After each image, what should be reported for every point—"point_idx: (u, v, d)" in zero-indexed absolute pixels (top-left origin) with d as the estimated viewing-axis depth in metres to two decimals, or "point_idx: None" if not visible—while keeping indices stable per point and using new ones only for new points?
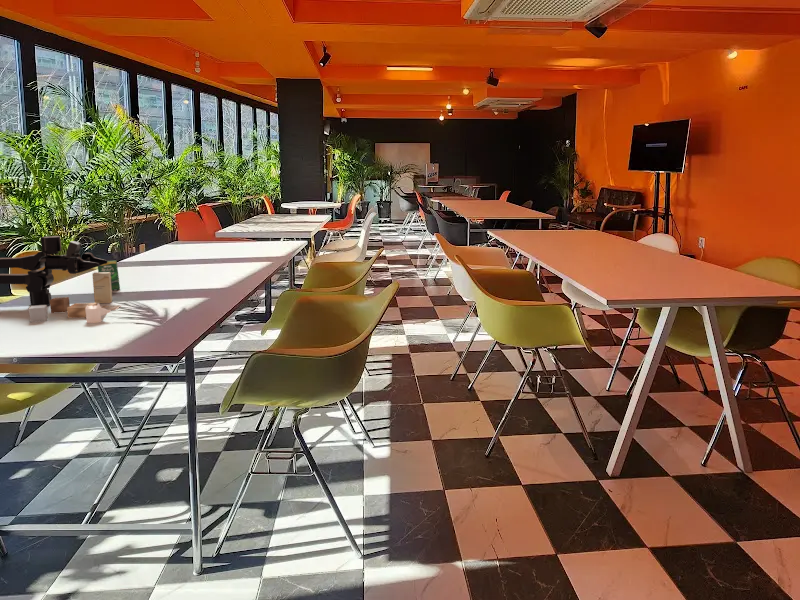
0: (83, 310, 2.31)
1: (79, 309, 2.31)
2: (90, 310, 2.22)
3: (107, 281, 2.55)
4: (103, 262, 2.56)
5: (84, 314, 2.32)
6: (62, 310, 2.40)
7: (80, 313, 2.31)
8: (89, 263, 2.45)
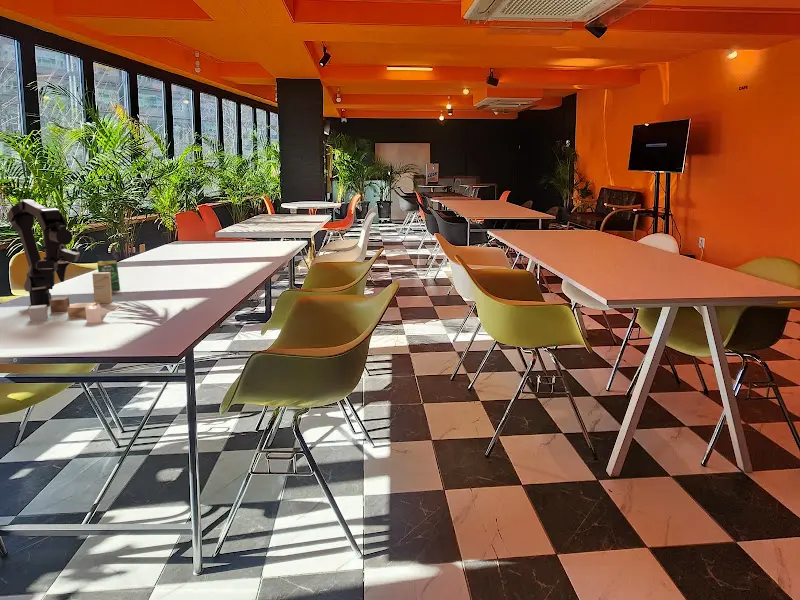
0: (84, 310, 2.31)
1: (80, 309, 2.31)
2: (90, 310, 2.22)
3: (107, 281, 2.55)
4: (60, 278, 2.44)
5: (85, 314, 2.32)
6: (62, 310, 2.40)
7: (81, 313, 2.31)
8: (51, 278, 2.34)
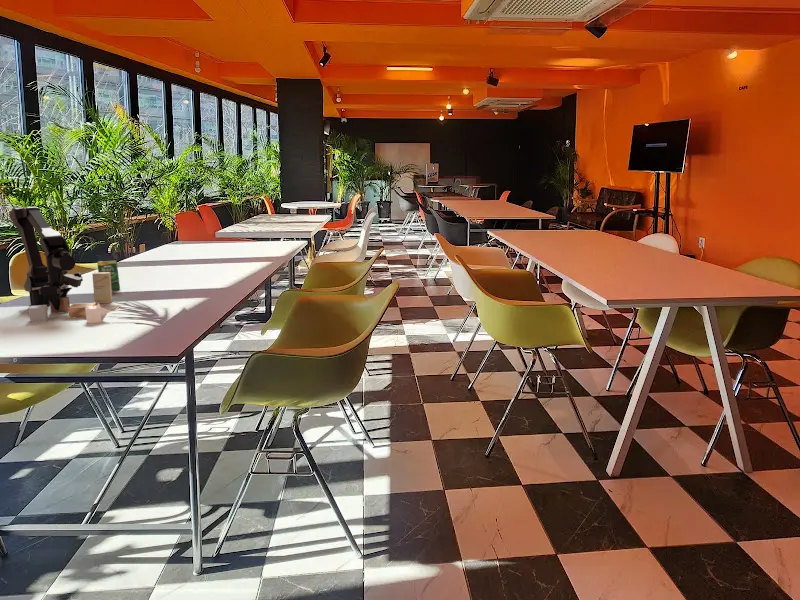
0: (85, 310, 2.32)
1: (81, 309, 2.31)
2: (90, 310, 2.22)
3: (107, 281, 2.55)
4: None
5: None
6: (62, 310, 2.40)
7: (82, 313, 2.31)
8: (57, 302, 2.38)
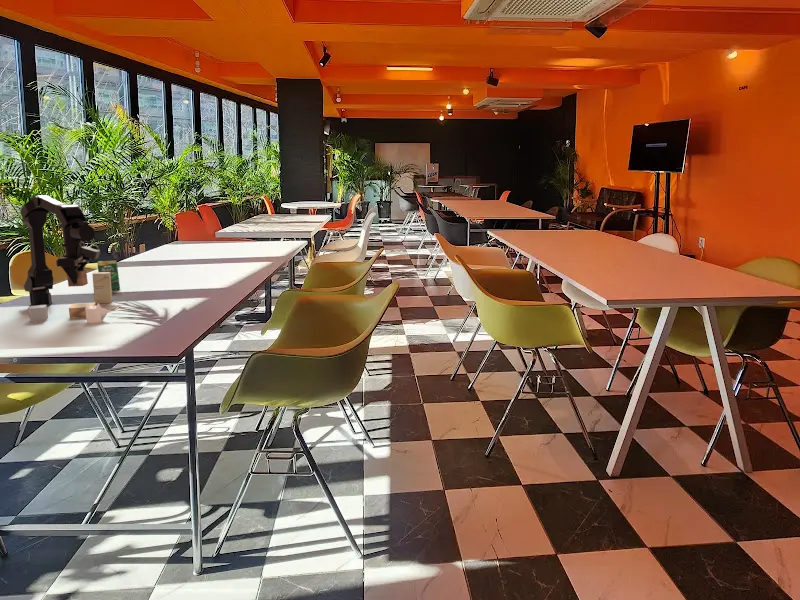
0: None
1: (81, 309, 2.31)
2: (90, 310, 2.22)
3: (107, 281, 2.55)
4: None
5: None
6: (80, 283, 2.31)
7: (82, 313, 2.32)
8: (74, 275, 2.29)
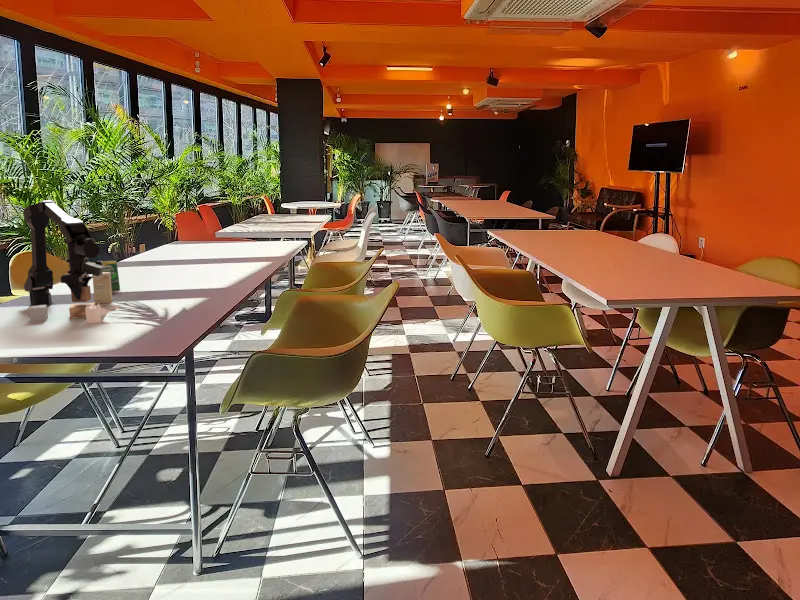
0: None
1: (82, 309, 2.31)
2: (90, 310, 2.22)
3: (107, 281, 2.55)
4: None
5: None
6: (83, 299, 2.32)
7: (83, 313, 2.32)
8: (78, 291, 2.30)
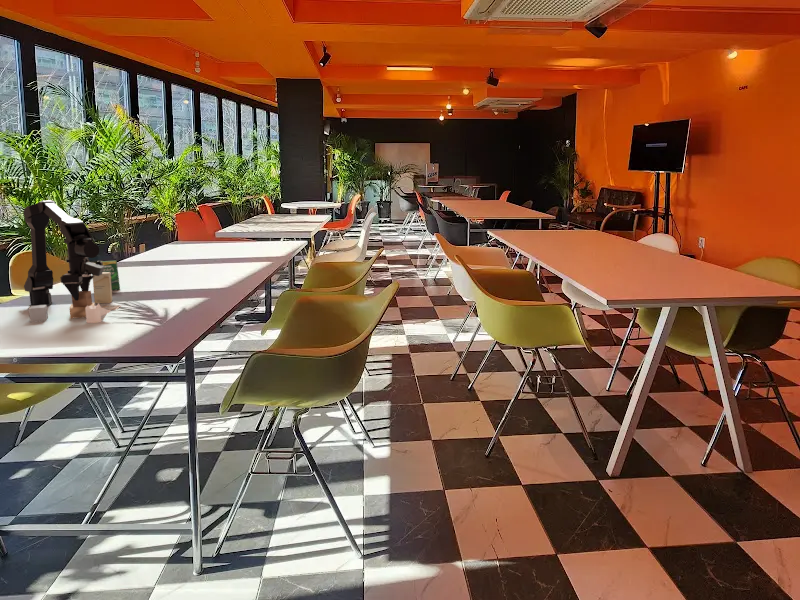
0: None
1: (82, 309, 2.31)
2: (90, 310, 2.22)
3: (107, 281, 2.55)
4: None
5: None
6: (84, 304, 2.32)
7: (83, 313, 2.32)
8: (76, 292, 2.28)
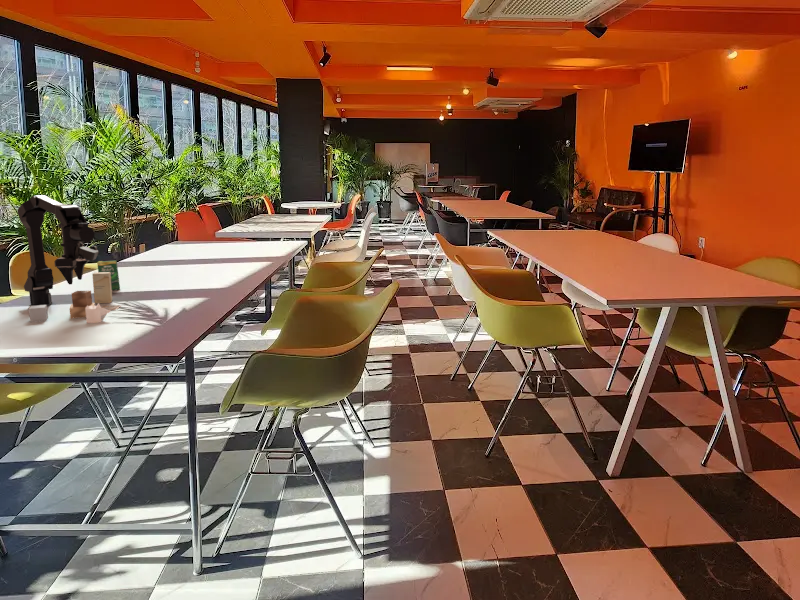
0: None
1: (82, 309, 2.31)
2: (90, 310, 2.22)
3: (107, 281, 2.55)
4: (78, 276, 2.40)
5: None
6: (84, 304, 2.33)
7: (83, 313, 2.32)
8: (70, 276, 2.30)
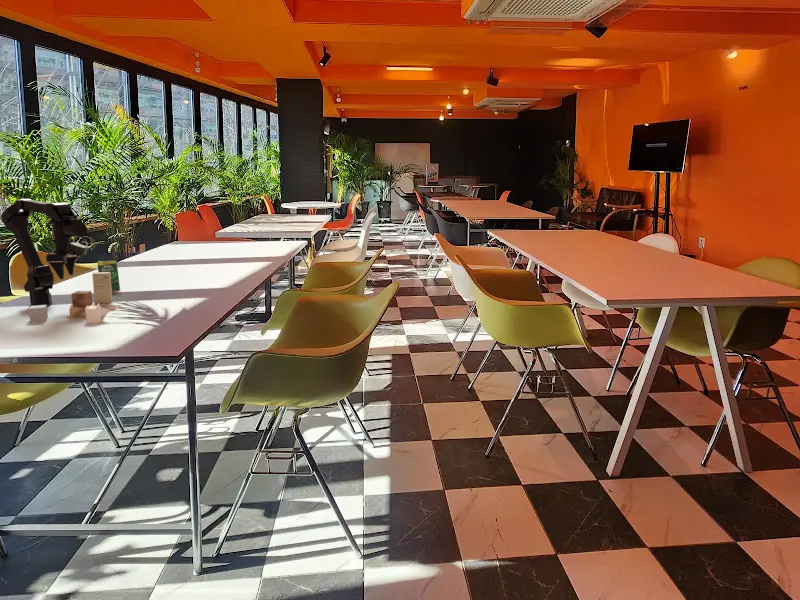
0: None
1: (82, 309, 2.31)
2: (90, 310, 2.22)
3: (107, 281, 2.55)
4: (69, 271, 2.47)
5: None
6: (84, 304, 2.32)
7: (83, 313, 2.31)
8: (61, 271, 2.37)
